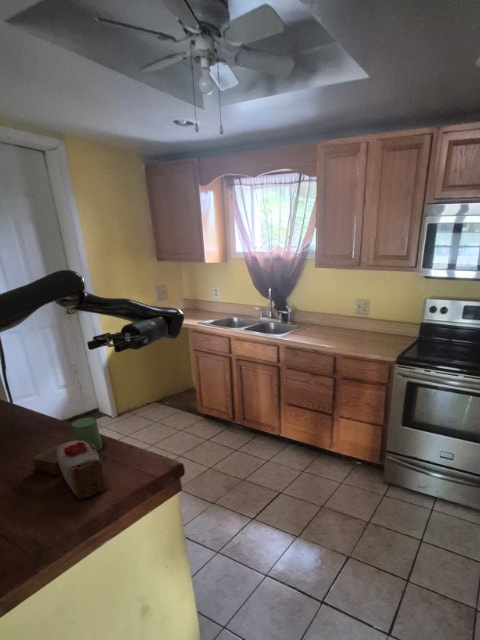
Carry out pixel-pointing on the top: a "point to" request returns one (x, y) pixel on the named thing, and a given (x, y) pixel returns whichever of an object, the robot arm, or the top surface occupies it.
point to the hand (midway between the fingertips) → (102, 347)
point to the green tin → (87, 432)
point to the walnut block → (48, 461)
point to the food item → (81, 468)
